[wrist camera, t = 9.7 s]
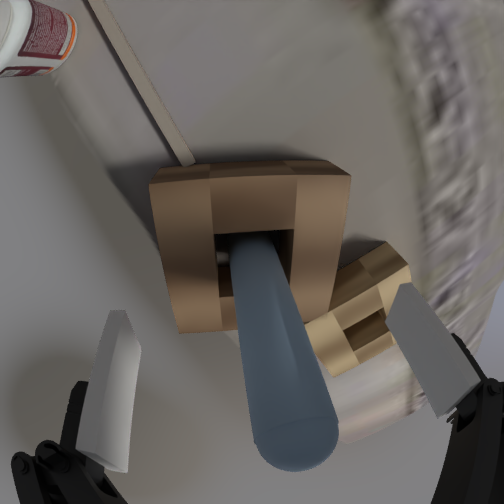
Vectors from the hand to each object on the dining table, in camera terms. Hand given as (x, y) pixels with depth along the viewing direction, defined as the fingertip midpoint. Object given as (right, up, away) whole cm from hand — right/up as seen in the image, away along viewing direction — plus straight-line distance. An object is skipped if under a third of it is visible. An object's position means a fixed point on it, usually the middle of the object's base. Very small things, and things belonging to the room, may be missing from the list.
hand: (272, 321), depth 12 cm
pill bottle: (-14, +17, -2) cm, 22 cm away
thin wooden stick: (-8, +15, 0) cm, 17 cm away
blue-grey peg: (-1, +4, +7) cm, 9 cm away
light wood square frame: (+9, -2, +13) cm, 16 cm away
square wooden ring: (-1, +4, +7) cm, 9 cm away
